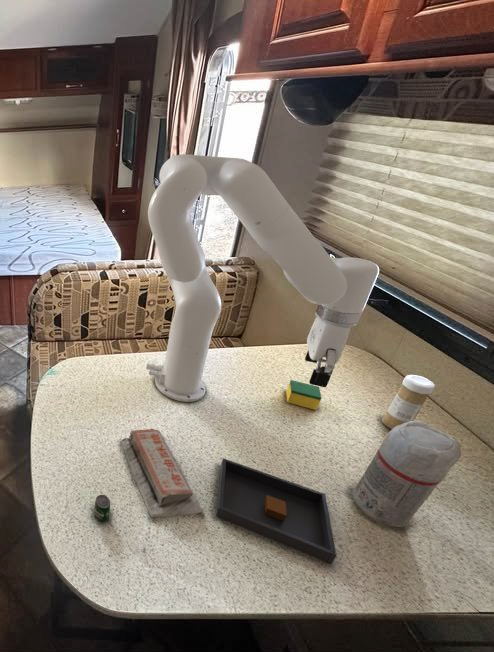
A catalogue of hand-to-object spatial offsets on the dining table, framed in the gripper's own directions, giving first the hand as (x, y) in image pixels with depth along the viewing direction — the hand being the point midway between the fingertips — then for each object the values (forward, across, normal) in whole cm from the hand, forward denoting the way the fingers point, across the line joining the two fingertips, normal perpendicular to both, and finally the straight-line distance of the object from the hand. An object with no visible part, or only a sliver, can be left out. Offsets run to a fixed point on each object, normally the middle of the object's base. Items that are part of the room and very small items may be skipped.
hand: (314, 372), depth 90 cm
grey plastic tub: (+9, +27, +9) cm, 30 cm away
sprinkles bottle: (+10, 0, +17) cm, 20 cm away
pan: (+9, +37, -9) cm, 39 cm away
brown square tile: (+8, +37, -8) cm, 39 cm away
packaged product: (+8, +39, -29) cm, 49 cm away
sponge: (+9, 0, -1) cm, 9 cm away
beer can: (+8, +53, -36) cm, 65 cm away
